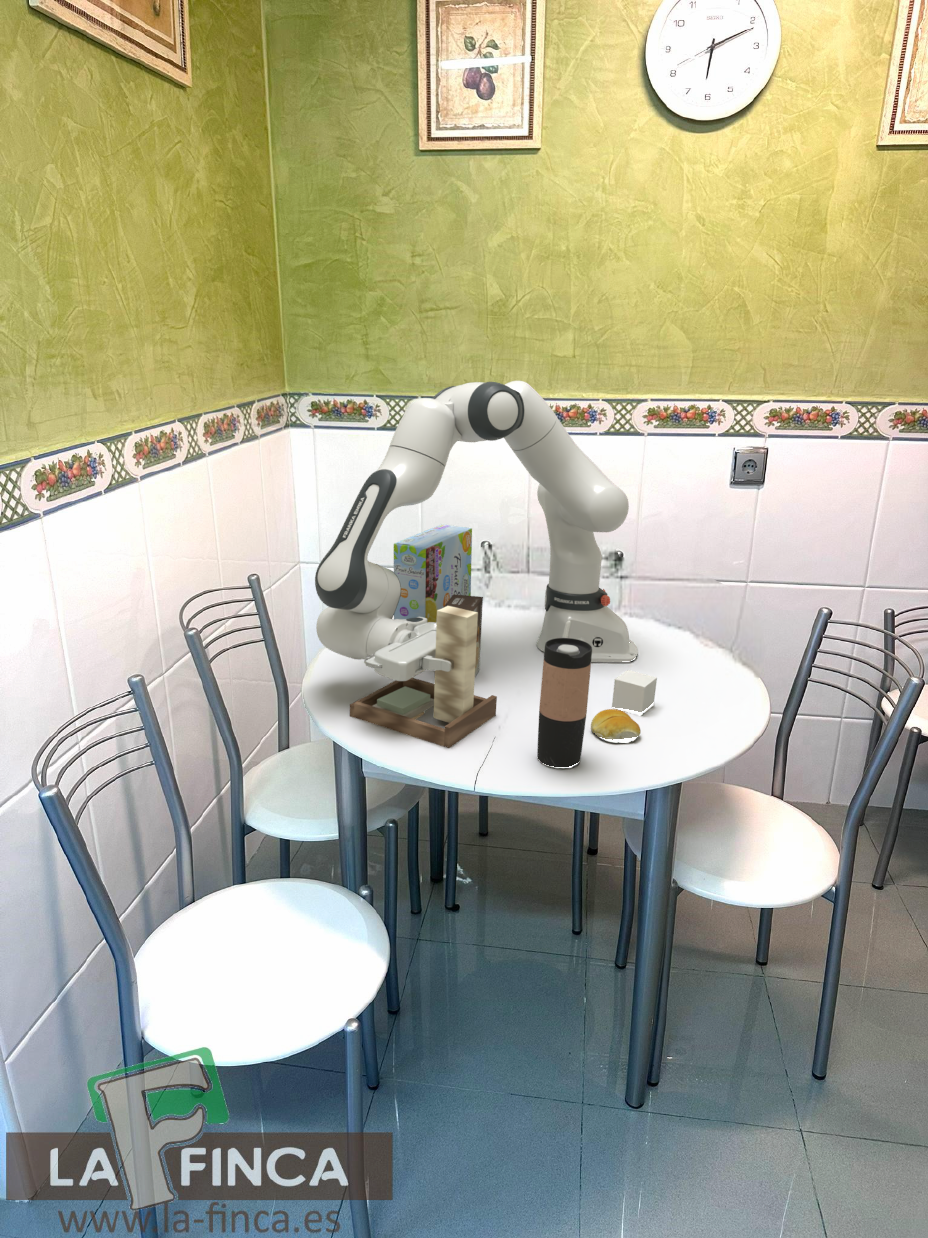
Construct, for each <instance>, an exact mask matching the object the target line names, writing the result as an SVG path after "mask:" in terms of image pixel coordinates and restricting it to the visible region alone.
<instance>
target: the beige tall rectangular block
mask: <svg viewBox="0 0 928 1238" xmlns="http://www.w3.org/2000/svg"><path fill="white" fill-rule="evenodd" d="M477 620H478V612H473V611H469V610H465V609H460V608H456V607H451V606H446V607H444V608H442V609H440V610H437V624H436V655H435V658H437V659H444V658H448V659H452V660H453V661H454V668H453V669H452V670H451V671H449V672H446V671H443V670H434V684H435V686H434V706H433V719H436V720H439V721H443V722H445V723H447V724H449V723H451V722H452V721H454V720H455V719H457V718H458V717H460V716H461V715H463V714H464V713H466V712H467V711H469V710H470V709H472V708H473V702H474V695H475V681H476V680H475V679H476V677H475V661H476V641H477Z"/></svg>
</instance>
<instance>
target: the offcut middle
mask: <svg viewBox="0 0 928 1238" xmlns="http://www.w3.org/2000/svg"><path fill="white" fill-rule="evenodd" d="M373 706H374V707H377V708H380V709H383V710H386V711H390V712H393V713H396V712H394V711H391V710H388V709H385V708H383V707H380V706H377V704H375V705H373ZM431 708H434V699H432V698H430V701H429V702H427V703H425V704H423V705H421V706H419V707H417V708H415V709H413V710H411V711H409V712H407V713H405V714H403V715H402V714H399V713H396V714H399V715H402V716H406V717H409V718H413V717H415V716H417V715H418V714H420V713H422V712H424V713H425V711H427V710H429V709H431Z"/></svg>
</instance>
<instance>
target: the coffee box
mask: <svg viewBox="0 0 928 1238" xmlns="http://www.w3.org/2000/svg"><path fill="white" fill-rule="evenodd" d="M483 601H484V597H483V596H479V595H478V596H474V595H471V596H467V595H455V594H454V595H452V597H451V598H450V599H449V601H448V602H447V603H446V605H445V606H444V607H446V606H451V607H456V608H460V609H465V610H469V611H473V612H478V620H477V641H476V661H475V678H476V677H477V675H478V673H479V671H480V665H481V664H480V663H481V662H480V661H481V660H480V659H481V643H482V642H481V641H482V620H483ZM444 607H443V608H444Z"/></svg>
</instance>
